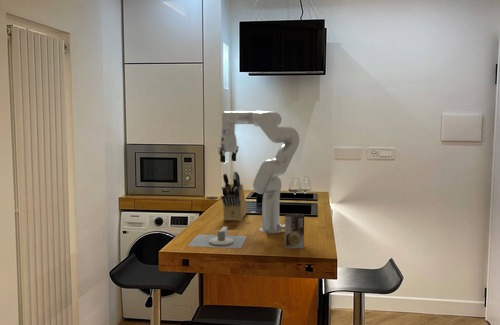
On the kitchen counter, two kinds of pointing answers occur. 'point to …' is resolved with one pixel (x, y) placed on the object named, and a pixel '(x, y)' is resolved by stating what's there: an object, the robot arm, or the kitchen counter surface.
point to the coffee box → (294, 230)
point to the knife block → (233, 199)
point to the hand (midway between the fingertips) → (228, 161)
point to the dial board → (204, 242)
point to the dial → (221, 238)
